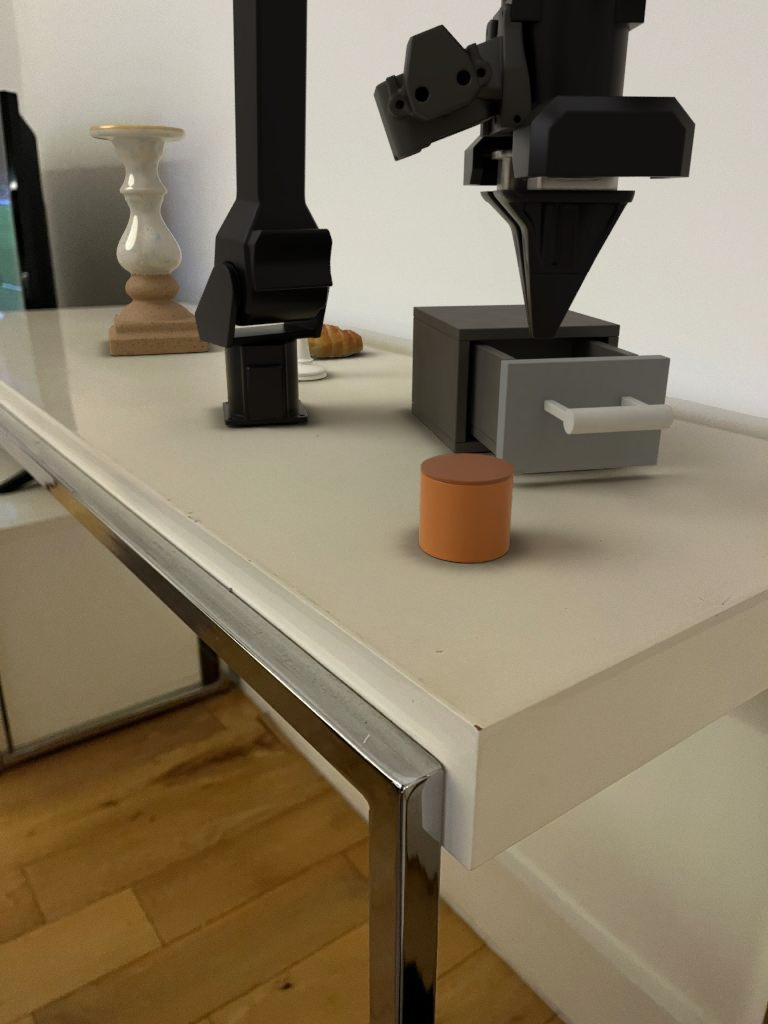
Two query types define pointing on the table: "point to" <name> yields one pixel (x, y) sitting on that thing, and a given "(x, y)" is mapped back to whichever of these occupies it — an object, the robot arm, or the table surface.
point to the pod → (465, 507)
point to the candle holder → (148, 250)
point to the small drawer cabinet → (447, 359)
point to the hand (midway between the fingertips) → (541, 337)
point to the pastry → (335, 342)
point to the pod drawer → (566, 403)
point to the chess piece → (307, 363)
